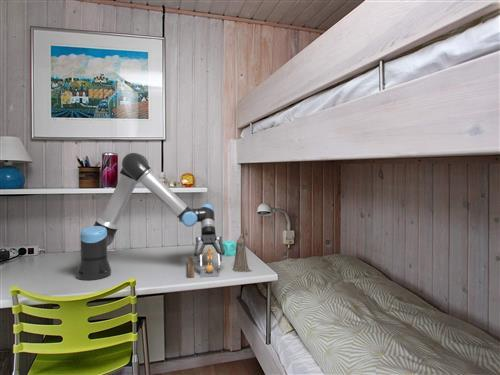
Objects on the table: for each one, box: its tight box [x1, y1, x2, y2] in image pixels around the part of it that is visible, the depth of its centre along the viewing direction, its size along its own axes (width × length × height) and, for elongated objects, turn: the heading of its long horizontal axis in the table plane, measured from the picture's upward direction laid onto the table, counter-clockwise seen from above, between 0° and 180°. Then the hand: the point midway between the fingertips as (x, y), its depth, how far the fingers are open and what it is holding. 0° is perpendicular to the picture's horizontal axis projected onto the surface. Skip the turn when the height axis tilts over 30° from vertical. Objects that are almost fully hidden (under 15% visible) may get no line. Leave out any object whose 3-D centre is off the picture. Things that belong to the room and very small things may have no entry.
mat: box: [199, 268, 220, 278], centre depth 166 cm, size 9×12×1 cm
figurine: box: [202, 247, 218, 273], centre depth 165 cm, size 8×6×12 cm
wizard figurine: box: [232, 222, 252, 273], centre depth 171 cm, size 10×8×25 cm
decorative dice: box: [219, 240, 237, 257], centre depth 203 cm, size 8×8×8 cm
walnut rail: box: [187, 255, 195, 279], centre depth 172 cm, size 3×28×4 cm, turn 11°
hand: (210, 266), depth 162 cm, fingers closed on figurine, 8 cm apart
